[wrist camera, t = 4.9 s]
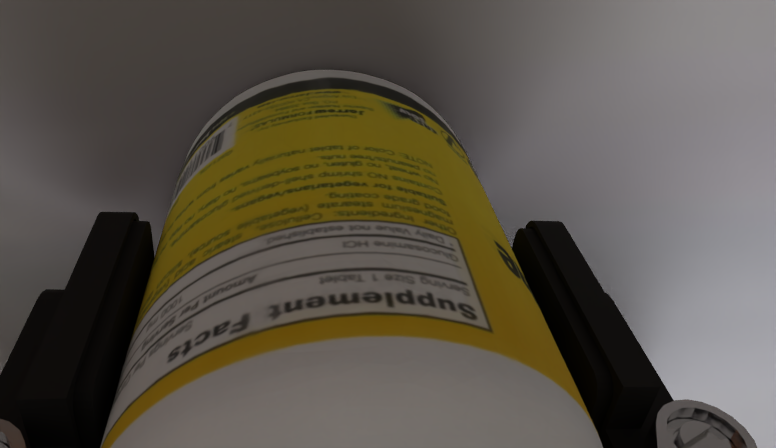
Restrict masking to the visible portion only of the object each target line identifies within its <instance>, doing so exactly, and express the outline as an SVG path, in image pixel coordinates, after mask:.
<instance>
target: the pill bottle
mask: <svg viewBox="0 0 776 448" xmlns="http://www.w3.org/2000/svg"><path fill="white" fill-rule="evenodd" d="M100 448H603V446H602V443H601V440H600V438H599V435H598V432H597V430H596V428H595V426H594V424H593V421H592V419H591V417H590V415H589V413H588V411H587V408H586V406H585V404H584V402H583V400H582V398H581V396H580V393H579V391H578V389H577V387H576V385H575V383H574V380H573V378H572V376H571V374H570V372H569V370H568V368H567V366H566V364H565V362H564V359H563V357H562V355H561V353H560V351H559V349H558V347H557V345H556V343H555V340H554V338H553V336H552V334H551V332H550V330H549V328H548V326H547V323H546V321H545V319H544V317H543V315H542V312H541V310H540V308H539V306H538V304H537V302H536V299H535V297H534V295H533V293H532V291H531V289H530V287H529V285H528V283H527V281H526V279H525V277H524V274H523V272H522V270H521V268H520V266H519V264H518V261H517V259H516V257H515V255H514V253H513V251H512V249H511V246H510V244H509V242H508V240H507V238H506V236H505V234H504V231H503V229H502V227H501V225H500V223H499V221H498V219H497V217H496V214H495V212H494V210H493V208H492V206H491V204H490V202H489V200H488V197H487V195H486V193H485V191H484V189H483V187H482V185H481V183H480V181H479V179H478V177H477V174H476V172H475V170H474V168H473V166H472V164H471V162H470V160H469V158H468V156H467V154H466V152H465V150H464V149H463V147H462V145H461V143H460V141H459V140H458V138H457V136H456V135H455V133H454V132H453V130H452V129H451V128H450V126H449V125H448V124H447V123H446V121H445V120H444V119H443V118H442V117H441V116H440V115H439V114H438V113H437V112H436V111H435V110H434V109H433V108H432V107H431V106H430V105H428V104H427V103H426V102H425V101H423V100H422V99H421V98H420V97H418V96H417V95H415V94H414V93H412V92H410V91H409V90H407V89H405V88H403V87H401V86H399V85H397V84H394V83H392V82H389V81H387V80H384V79H381V78H377V77H373V76H370V75H366V74H363V73H357V72H351V71H342V70H309V71H301V72H295V73H291V74H288V75H284V76H280V77H277V78H274V79H271V80H268V81H265V82H263V83H260V84H258V85H256V86H254V87H252V88H250V89H248V90H246V91H244V92H243V93H241V94H239V95H238V96H236V97H235V98H233V99H232V100H231V101H230V102H228V103H227V104H226V105H225V106H223V107H222V108H221V109H220V110H219V111H218V112H217V113H216V114H215V115H214V116H213V117H212V118H211V119H210V121H209V122H208V123H207V124H206V125H205V126H204V128H203V129H202V130H201V132H200V133H199V135H198V136H197V138H196V139H195V141H194V143H193V145H192V146H191V148H190V150H189V152H188V155H187V157H186V160H185V162H184V164H183V167H182V169H181V172H180V174H179V177H178V180H177V183H176V186H175V191H174V194H173V197H172V200H171V204H170V207H169V209H168V213H167V217H166V221H165V224H164V228H163V231H162V235H161V238H160V241H159V245H158V248H157V251H156V255H155V258H154V261H153V265H152V268H151V272H150V275H149V279H148V282H147V286H146V289H145V293H144V296H143V300H142V303H141V307H140V310H139V314H138V317H137V321H136V324H135V327H134V331H133V334H132V338H131V341H130V345H129V348H128V351H127V355H126V359H125V363H124V365H123V368H122V372H121V376H120V380H119V384H118V387H117V391H116V394H115V398H114V401H113V405H112V408H111V411H110V414H109V418H108V422H107V425H106V429H105V432H104V436H103V439H102V443H101V446H100Z"/></svg>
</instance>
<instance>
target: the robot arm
mask: <svg viewBox="0 0 776 448" xmlns="http://www.w3.org/2000/svg"><path fill="white" fill-rule="evenodd" d="M512 251H513V253H514V255H515V257H516V259H517V261H518V264H519V266H520V268H521V270H522V272H523V274H524V277H525V279H526V281H527V283H528V285H529V287H530V289H531V291H532V293H533V295H534V297H535V299H536V302H537V304H538V306H539V308H540V310H541V312H542V315H543V317H544V319H545V321H546V323H547V326H548V328H549V330H550V332H551V334H552V336H553V338H554V340H555V343H556V345H557V347H558V349H559V351H560V353H561V355H562V357H563V359H564V362H565V364H566V366H567V368H568V370H569V372H570V374H571V376H572V378H573V380H574V383H575V385H576V387H577V389H578V391H579V393H580V396H581V398H582V400H583V402H584V404H585V406H586V408H587V411H588V413H589V415H590V417H591V419H592V421H593V424H594V426H595V428H596V430H597V432H598V435H599V438H600V440H601V443H602V446H603V448H757V446H756V443H755V441H754V439H753V438H752V437H751V435H750V434H749V433H748V431H747V430H746V429H745V428H744V427H743V426H742V425H741V424H740V423H739V422H737V421H736V420H735V419H734V418H733V417H732V416H730V415H728V414H727V413H725V412H723V411H722V410H720V409H718V408H716V407H714V406H711V405H708V404H706V403H703V402H699V401H693V400H675V401H674V400H673V399H672V397H671V396H670V394H669V392H668V391H667V389H666V387H665V386H664V384H663V382H662V381H661V379H660V377H659V376H658V374H657V372H656V371H655V369H654V367H653V366H652V364H651V363H650V361H649V359H648V358H647V356H646V354H645V353H644V351H643V349H642V348H641V346H640V344H639V343H638V341H637V339H636V338H635V336H634V334H633V333H632V331H631V330H630V328H629V326H628V325H627V323H626V321H625V320H624V318H623V316H622V315H621V313H620V311H619V310H618V308H617V306H616V305H615V303H614V301H613V300H612V299H611V297H610V296H609V295H608V294H606V293H605V292H604V291H603V289H602V287H601V286H600V284H599V282H598V281H597V279H596V277H595V276H594V274H593V272H592V271H591V269H590V267H589V266H588V264H587V262H586V261H585V259H584V257H583V256H582V254H581V252H580V251H579V249H578V247H577V246H576V244H575V242H574V241H573V239H572V237H571V236H570V234H569V232H568V231H567V229H566V227H565V226H564V224H563V223H562V222H559V221H530V222H528V224H527V225H526V228H525V229H523V228H520V229H518V231H517V232H516V235H515V239H514V243H513V247H512ZM153 261H154V250H153V241H152V232H151V226H150V223H149V222H148V221H139V218H138V215H137V214H136V213H131V212H100V213H99V214H98V216H97V218H96V220H95V223H94V225H93V227H92V230H91V232H90V234H89V236H88V239H87V241H86V243H85V245H84V248H83V250H82V252H81V254H80V257H79V259H78V261H77V264H76V266H75V268H74V270H73V273H72V275H71V277H70V279H69V282H68V284H67V286H66V288H65V290H45V291H43V292H42V293H41V294H40V296H39V297H38V299H37V301H36V303H35V305H34V307H33V309H32V311H31V313H30V315H29V317H28V319H27V322H26V324H25V326H24V328H23V330H22V332H21V334H20V336H19V338H18V340H17V342H16V344H15V346H14V348H13V350H12V352H11V354H10V356H9V359H8V361H7V363H6V365H5V367H4V369H3V371H2V373H1V375H0V448H100V446H101V443H102V439H103V436H104V432H105V429H106V425H107V422H108V418H109V414H110V411H111V408H112V405H113V401H114V398H115V394H116V391H117V387H118V384H119V380H120V376H121V372H122V368H123V365H124V363H125V359H126V355H127V351H128V348H129V345H130V341H131V338H132V334H133V331H134V327H135V324H136V321H137V317H138V314H139V310H140V307H141V303H142V300H143V296H144V293H145V289H146V286H147V282H148V279H149V275H150V272H151V268H152V265H153Z"/></svg>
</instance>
